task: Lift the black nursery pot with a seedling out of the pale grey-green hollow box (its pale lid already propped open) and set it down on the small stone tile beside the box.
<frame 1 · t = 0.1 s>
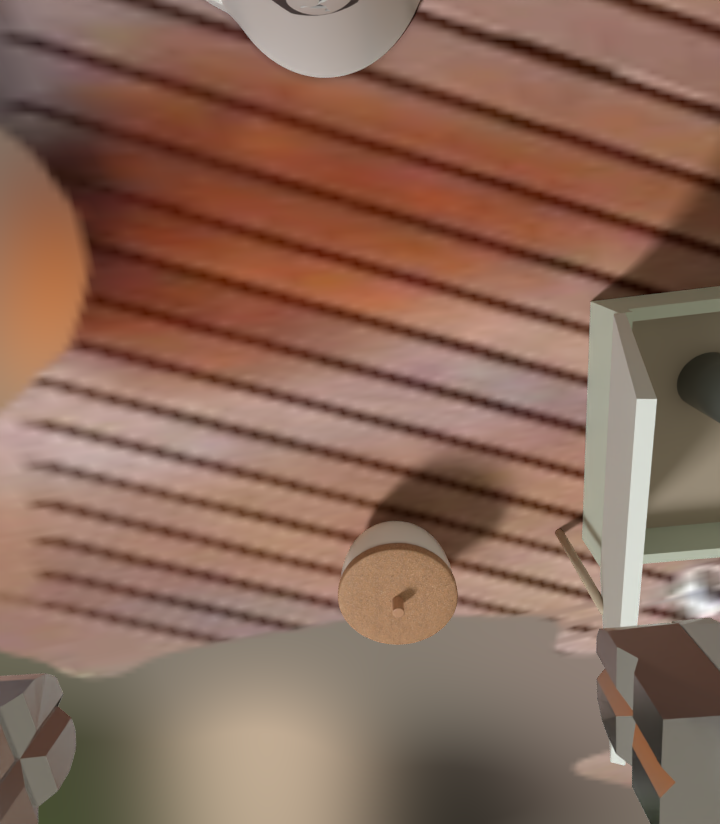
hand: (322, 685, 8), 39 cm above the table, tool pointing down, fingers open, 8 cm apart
lidded jar: (394, 545, 53), on the table
nursery pot: (706, 379, 45), point 1 cm above the table, touching pale grey-green hollow box
pale grey-green hollow box: (686, 420, 47), on the table
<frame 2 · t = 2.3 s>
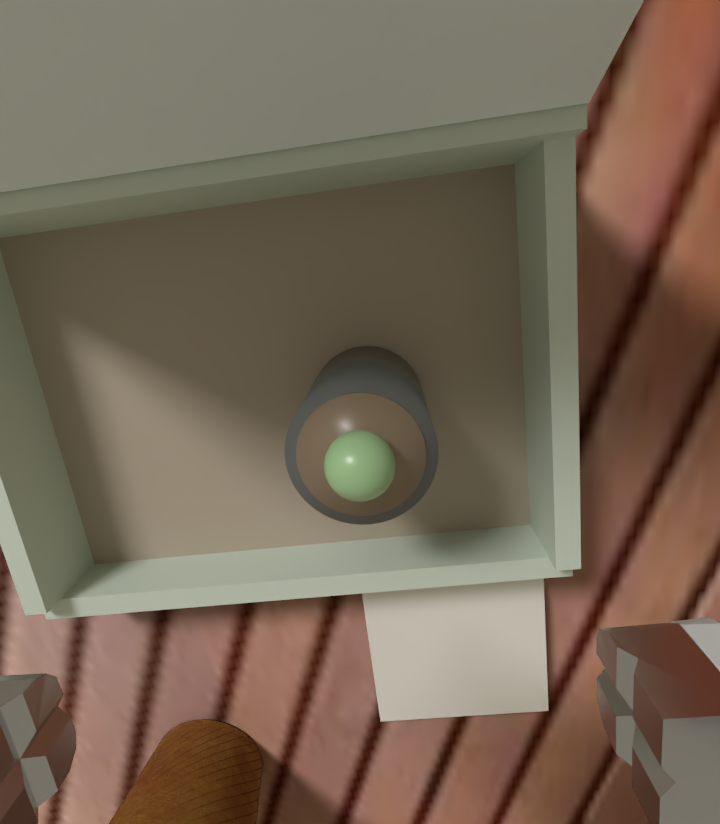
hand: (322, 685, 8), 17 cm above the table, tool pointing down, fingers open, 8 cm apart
nursery pot: (367, 400, 23), point 1 cm above the table, touching pale grey-green hollow box
pale grey-green hollow box: (280, 386, 24), on the table
disposable coffee cup: (211, 757, 31), on the table
stone tile: (455, 635, 27), on the table
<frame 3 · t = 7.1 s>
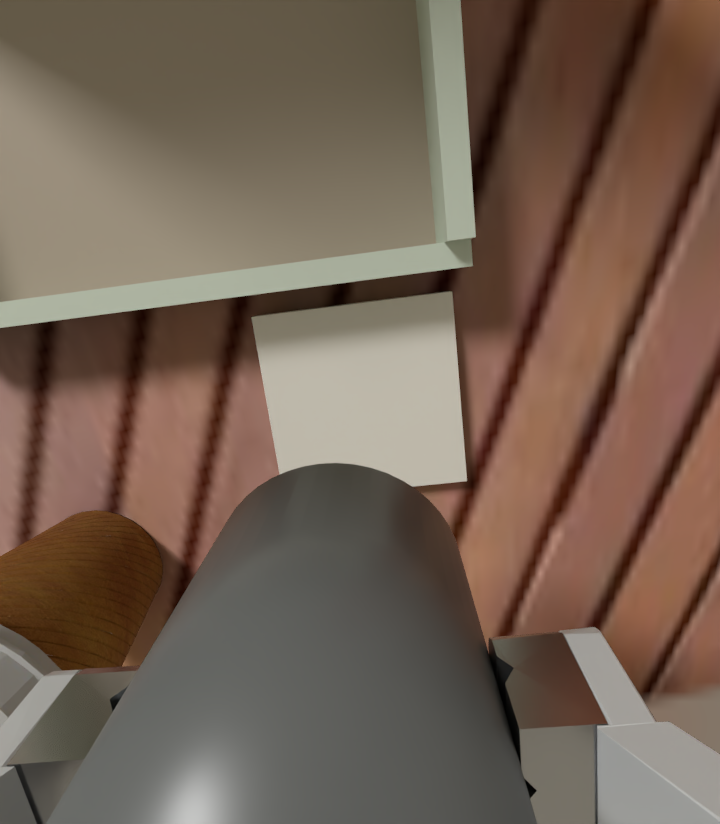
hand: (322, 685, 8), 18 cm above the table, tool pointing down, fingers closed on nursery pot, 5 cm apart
nursery pot: (337, 578, 10), point 15 cm above the table, touching gripper
pale grey-green hollow box: (153, 81, 21), on the table
disposable coffee cup: (107, 560, 28), on the table
stone tile: (363, 397, 25), on the table
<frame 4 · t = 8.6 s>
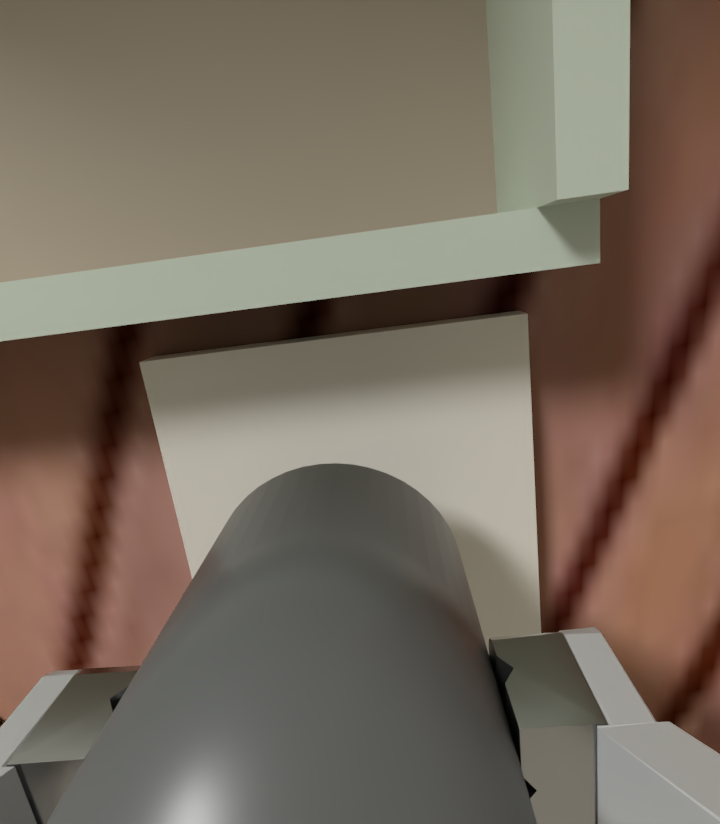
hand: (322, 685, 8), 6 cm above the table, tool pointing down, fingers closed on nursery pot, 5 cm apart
nursery pot: (337, 579, 10), point 3 cm above the table, touching gripper
stone tile: (355, 502, 14), on the table
when the fingers open (5 cm above the table, at t = 9.7 s): nursery pot drops 1 cm, resting on stone tile.
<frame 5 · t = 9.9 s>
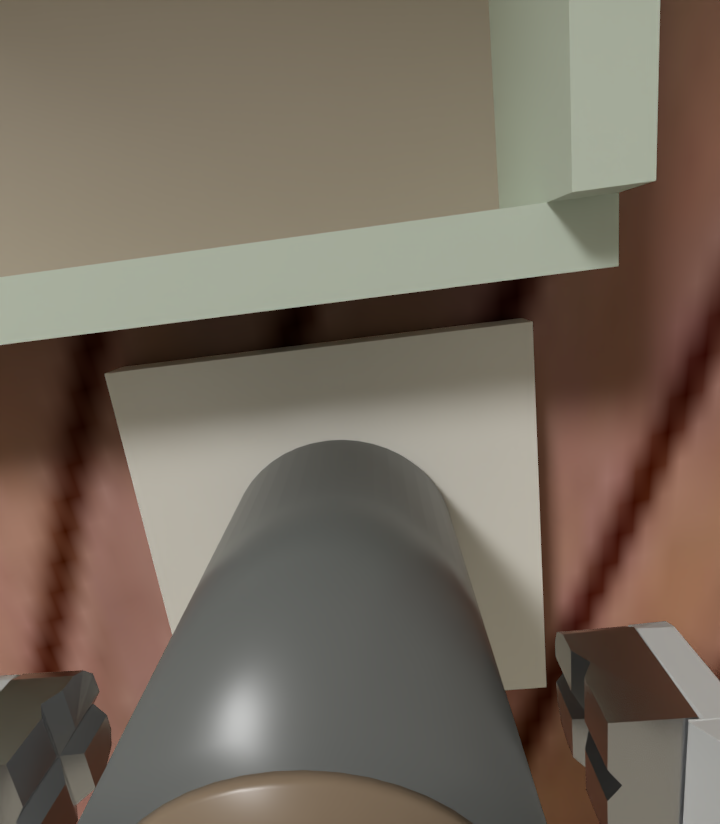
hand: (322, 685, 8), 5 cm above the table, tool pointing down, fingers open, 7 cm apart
nursery pot: (343, 542, 12), point 1 cm above the table, touching stone tile
stone tile: (343, 525, 13), on the table
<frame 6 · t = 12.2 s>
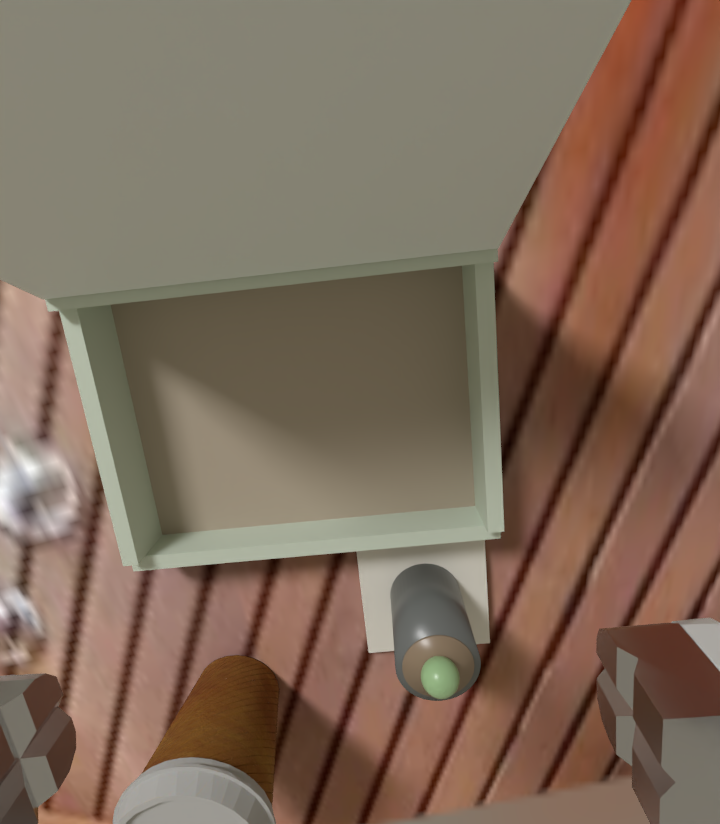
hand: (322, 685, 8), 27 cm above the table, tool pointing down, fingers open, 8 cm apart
nursery pot: (425, 594, 37), point 1 cm above the table, touching stone tile
pale grey-green hollow box: (302, 407, 34), on the table
disposable coffee cup: (239, 686, 40), on the table
stone tile: (423, 588, 38), on the table
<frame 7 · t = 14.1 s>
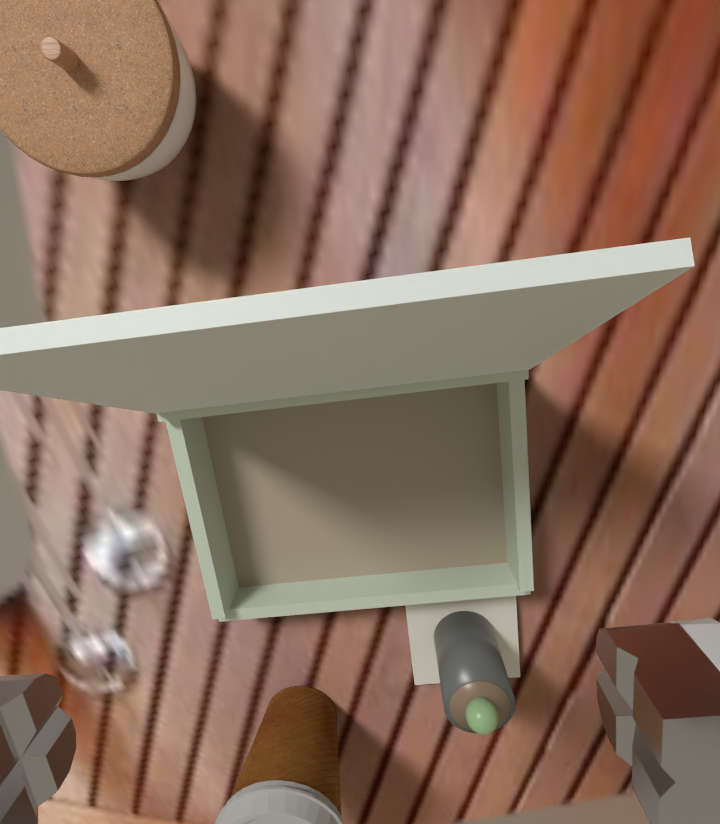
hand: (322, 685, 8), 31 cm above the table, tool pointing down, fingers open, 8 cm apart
lidded jar: (139, 107, 34), on the table
nursery pot: (463, 636, 43), point 1 cm above the table, touching stone tile
pale grey-green hollow box: (358, 481, 40), on the table
disposable coffee cup: (302, 711, 47), on the table
stone tile: (461, 630, 44), on the table
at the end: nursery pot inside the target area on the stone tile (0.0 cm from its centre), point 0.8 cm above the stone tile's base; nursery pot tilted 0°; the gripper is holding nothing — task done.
